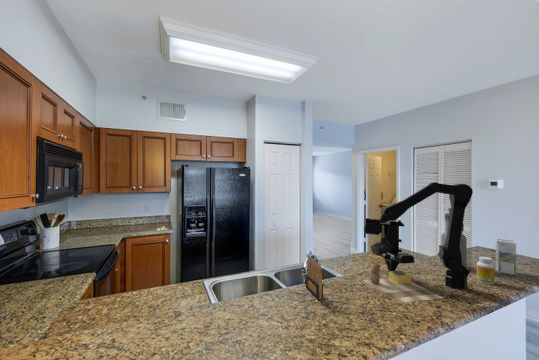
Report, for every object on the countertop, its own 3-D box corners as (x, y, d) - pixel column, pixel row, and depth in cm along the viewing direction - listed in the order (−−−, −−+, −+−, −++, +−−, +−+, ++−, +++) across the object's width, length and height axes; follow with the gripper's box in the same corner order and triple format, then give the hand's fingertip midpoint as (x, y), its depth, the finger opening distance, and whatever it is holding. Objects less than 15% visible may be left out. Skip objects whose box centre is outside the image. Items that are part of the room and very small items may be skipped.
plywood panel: (402, 279, 101) (402, 276, 101) (443, 301, 82) (443, 298, 82) (362, 282, 97) (362, 279, 97) (397, 306, 79) (397, 302, 79)
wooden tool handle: (376, 281, 96) (376, 263, 96) (381, 284, 93) (381, 265, 93) (369, 281, 95) (369, 263, 96) (374, 284, 93) (374, 266, 93)
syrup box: (512, 271, 112) (512, 239, 112) (516, 275, 107) (516, 242, 107) (495, 269, 115) (495, 238, 115) (498, 273, 110) (498, 240, 110)
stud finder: (401, 278, 100) (401, 269, 100) (411, 282, 95) (411, 273, 95) (388, 279, 98) (388, 270, 98) (397, 284, 94) (398, 274, 94)
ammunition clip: (323, 300, 82) (323, 264, 82) (318, 300, 81) (318, 264, 82) (310, 287, 92) (310, 255, 92) (305, 287, 92) (305, 255, 92)
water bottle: (444, 261, 125) (444, 206, 125) (468, 266, 118) (468, 208, 118) (438, 266, 118) (438, 208, 119) (464, 271, 111) (464, 209, 111)
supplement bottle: (495, 285, 96) (495, 260, 96) (477, 282, 99) (477, 258, 99) (493, 281, 100) (493, 257, 100) (476, 278, 103) (476, 255, 103)
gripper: (361, 232, 109) (360, 267, 109) (389, 242, 91) (389, 284, 91) (383, 231, 112) (382, 266, 111) (415, 241, 93) (415, 282, 93)
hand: (391, 273), depth 102 cm, fingers closed
